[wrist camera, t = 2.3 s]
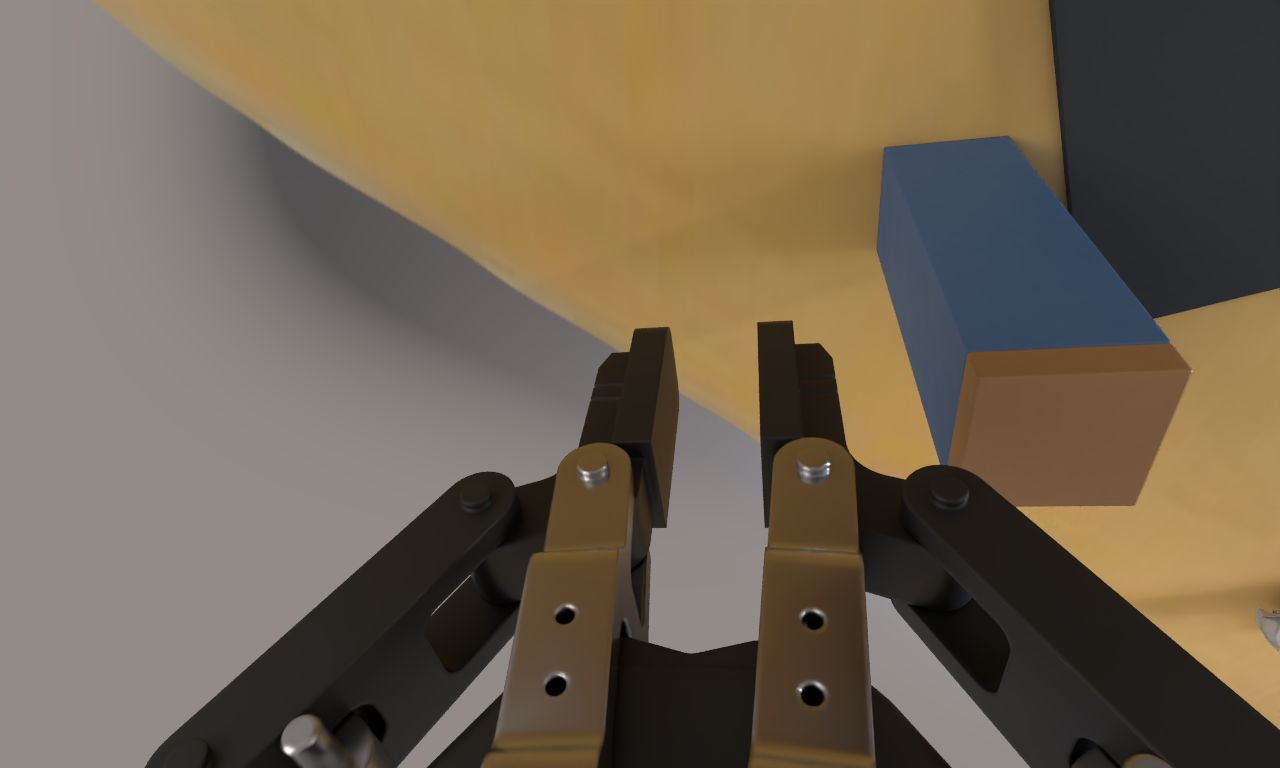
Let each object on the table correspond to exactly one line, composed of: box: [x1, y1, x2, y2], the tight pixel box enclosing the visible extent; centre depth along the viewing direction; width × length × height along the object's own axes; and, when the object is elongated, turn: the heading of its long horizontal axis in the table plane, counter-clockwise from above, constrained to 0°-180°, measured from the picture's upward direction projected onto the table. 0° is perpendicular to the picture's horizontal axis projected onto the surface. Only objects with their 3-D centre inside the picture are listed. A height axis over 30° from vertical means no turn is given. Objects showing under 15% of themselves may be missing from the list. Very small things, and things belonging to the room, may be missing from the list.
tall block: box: [877, 136, 1192, 507], centre depth 26 cm, size 5×5×16 cm
